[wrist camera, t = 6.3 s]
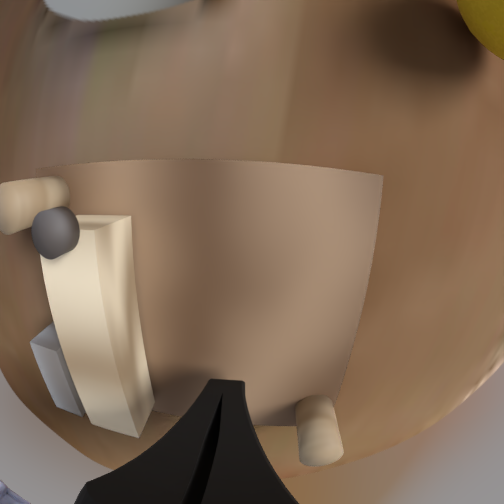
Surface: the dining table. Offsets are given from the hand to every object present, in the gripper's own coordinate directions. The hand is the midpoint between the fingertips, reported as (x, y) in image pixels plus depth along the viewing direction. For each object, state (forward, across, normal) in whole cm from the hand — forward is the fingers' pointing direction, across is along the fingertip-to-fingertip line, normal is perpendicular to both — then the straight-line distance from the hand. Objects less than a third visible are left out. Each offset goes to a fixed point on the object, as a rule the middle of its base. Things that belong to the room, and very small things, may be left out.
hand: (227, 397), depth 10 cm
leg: (+1, +5, -3) cm, 6 cm away
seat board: (+2, +2, -3) cm, 4 cm away
